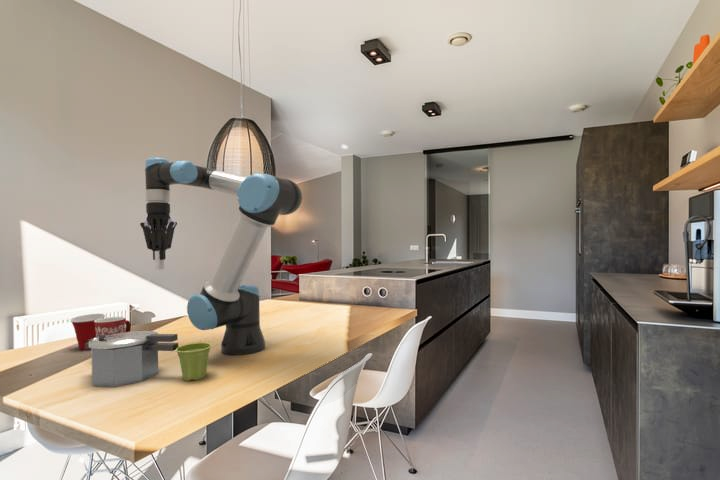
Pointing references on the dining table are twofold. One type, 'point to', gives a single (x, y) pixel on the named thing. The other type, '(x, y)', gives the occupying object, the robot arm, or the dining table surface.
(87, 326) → the plastic cup
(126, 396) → the dining table surface
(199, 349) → the plant pot
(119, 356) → the cooker pot
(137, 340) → the lid
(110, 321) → the mug
